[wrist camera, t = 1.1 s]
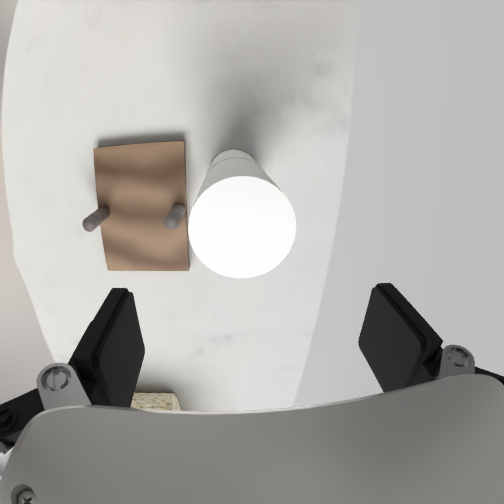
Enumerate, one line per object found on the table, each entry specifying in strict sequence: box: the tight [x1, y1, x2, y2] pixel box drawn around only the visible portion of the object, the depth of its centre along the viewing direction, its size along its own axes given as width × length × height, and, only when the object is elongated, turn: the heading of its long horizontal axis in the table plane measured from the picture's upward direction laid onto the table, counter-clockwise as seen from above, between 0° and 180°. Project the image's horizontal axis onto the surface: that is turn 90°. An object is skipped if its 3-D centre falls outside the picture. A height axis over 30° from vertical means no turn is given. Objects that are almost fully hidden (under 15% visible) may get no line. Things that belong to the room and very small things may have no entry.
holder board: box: [83, 141, 190, 271], centre depth 39 cm, size 20×14×8 cm
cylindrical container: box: [188, 150, 296, 278], centre depth 31 cm, size 7×7×25 cm
